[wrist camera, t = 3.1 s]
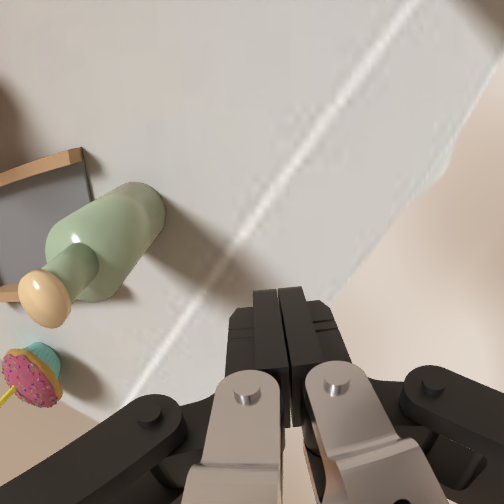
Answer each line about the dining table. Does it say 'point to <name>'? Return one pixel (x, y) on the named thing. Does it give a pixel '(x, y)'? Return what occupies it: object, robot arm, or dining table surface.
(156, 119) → the dining table surface
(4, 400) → the cupcake
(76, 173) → the wooden shallow tray
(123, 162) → the dining table surface
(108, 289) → the bottle
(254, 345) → the robot arm
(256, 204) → the dining table surface
